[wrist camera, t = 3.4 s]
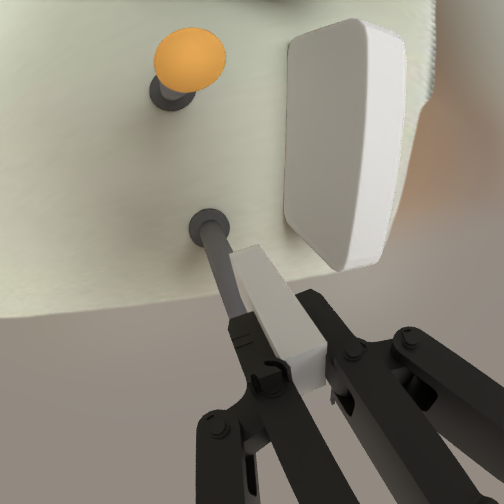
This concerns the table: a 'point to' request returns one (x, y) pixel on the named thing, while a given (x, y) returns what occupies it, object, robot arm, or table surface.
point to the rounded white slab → (344, 139)
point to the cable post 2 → (218, 255)
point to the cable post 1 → (185, 67)
